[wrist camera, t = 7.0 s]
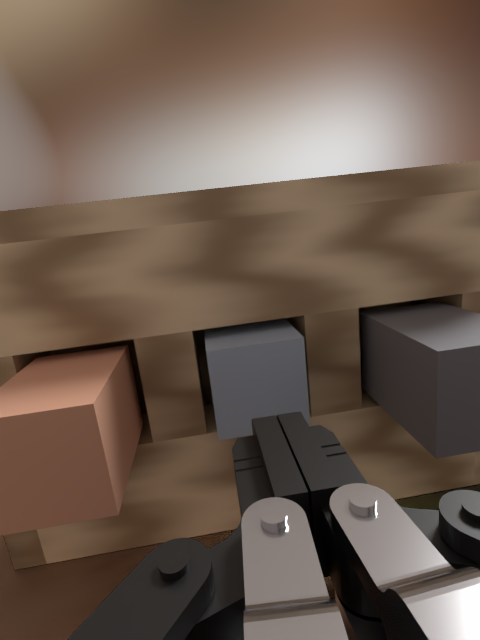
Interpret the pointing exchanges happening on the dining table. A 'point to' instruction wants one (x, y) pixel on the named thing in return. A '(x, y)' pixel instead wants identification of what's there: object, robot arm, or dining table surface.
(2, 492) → the key terracotta
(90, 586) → the dining table surface
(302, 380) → the key slate
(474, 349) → the key charcoal
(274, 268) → the console
